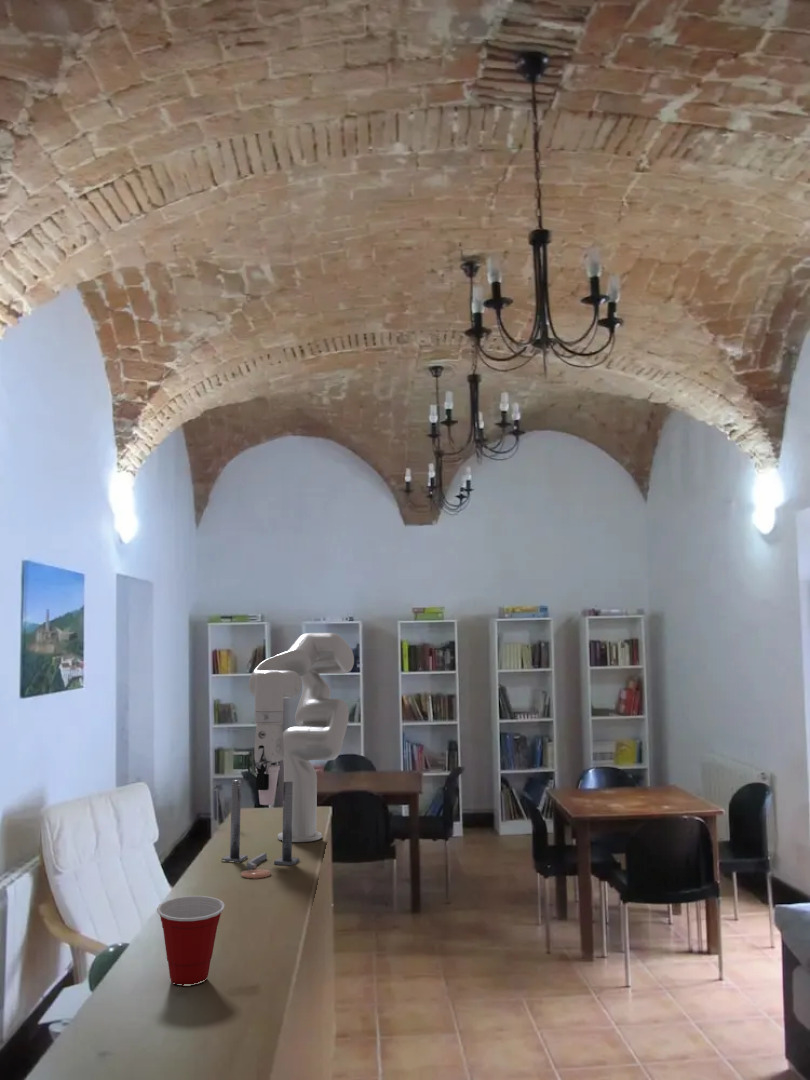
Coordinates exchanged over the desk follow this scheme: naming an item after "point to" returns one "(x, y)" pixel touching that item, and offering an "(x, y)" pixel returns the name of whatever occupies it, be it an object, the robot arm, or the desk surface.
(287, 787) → the post
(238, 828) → the post
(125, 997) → the desk surface
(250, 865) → the bent rail
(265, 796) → the smoothie
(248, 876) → the coaster
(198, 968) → the plastic cup
